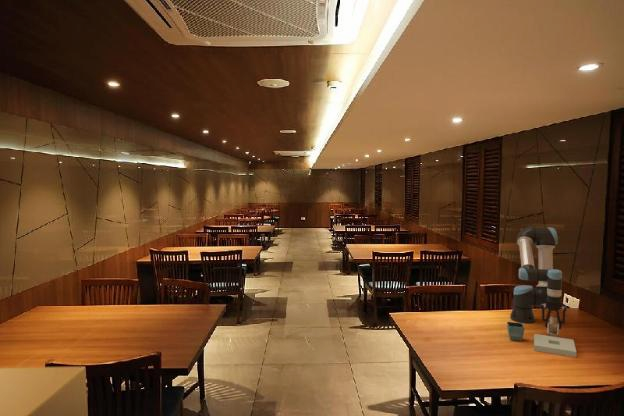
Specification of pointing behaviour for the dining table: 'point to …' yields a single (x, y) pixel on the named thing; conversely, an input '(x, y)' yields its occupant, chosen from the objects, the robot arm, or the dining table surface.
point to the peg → (553, 325)
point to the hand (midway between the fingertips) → (552, 333)
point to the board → (554, 345)
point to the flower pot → (515, 330)
